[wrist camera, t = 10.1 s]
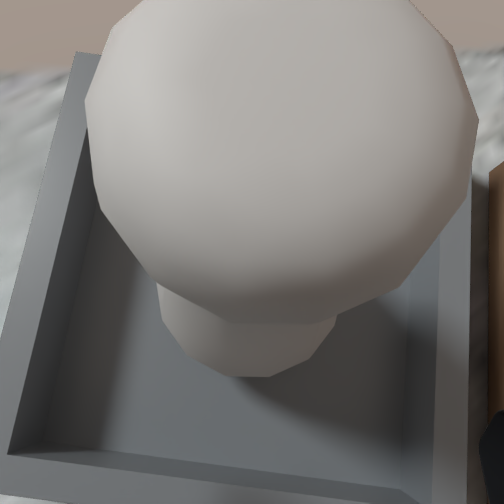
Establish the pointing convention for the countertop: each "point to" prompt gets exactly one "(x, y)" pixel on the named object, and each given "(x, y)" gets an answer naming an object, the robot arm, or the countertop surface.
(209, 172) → the salt shaker
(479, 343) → the countertop surface
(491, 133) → the countertop surface
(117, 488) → the tray
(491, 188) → the socket block
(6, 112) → the countertop surface
